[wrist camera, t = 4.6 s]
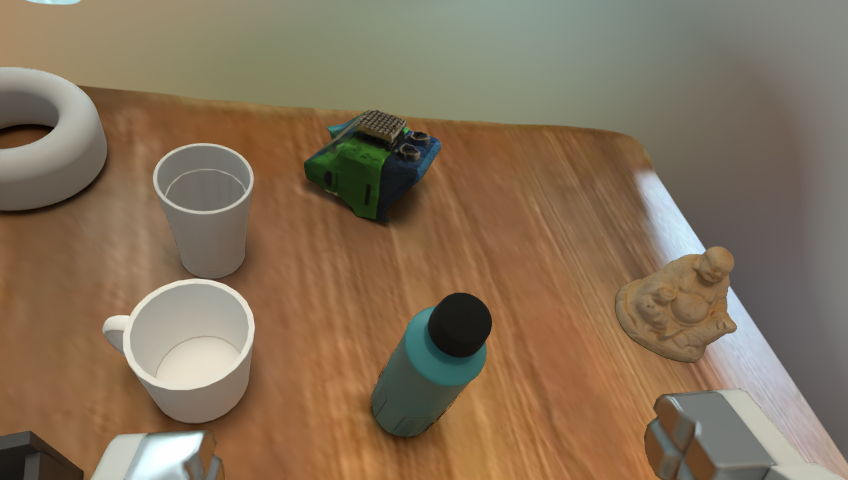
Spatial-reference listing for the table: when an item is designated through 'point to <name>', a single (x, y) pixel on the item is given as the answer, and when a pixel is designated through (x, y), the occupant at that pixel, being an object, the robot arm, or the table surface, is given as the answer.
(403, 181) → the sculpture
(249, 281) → the table surface
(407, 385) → the beverage bottle
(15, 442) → the book rack
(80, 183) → the thick torus
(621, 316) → the statue
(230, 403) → the mug
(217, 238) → the cup
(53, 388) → the table surface
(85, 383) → the table surface
